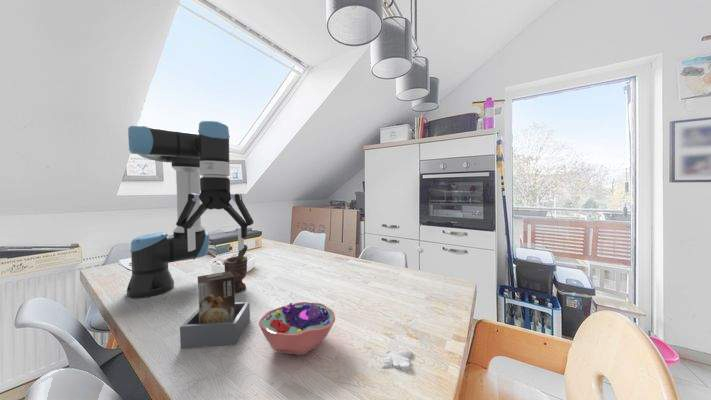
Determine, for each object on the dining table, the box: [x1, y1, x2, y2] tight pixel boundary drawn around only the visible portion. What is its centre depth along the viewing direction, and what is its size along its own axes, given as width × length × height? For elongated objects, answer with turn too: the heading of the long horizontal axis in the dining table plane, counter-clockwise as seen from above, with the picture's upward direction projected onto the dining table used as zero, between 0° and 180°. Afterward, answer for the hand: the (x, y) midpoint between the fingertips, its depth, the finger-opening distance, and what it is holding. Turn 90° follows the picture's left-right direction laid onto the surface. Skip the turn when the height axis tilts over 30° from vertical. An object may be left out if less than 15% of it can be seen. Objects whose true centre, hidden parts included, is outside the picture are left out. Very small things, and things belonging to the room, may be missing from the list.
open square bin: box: [179, 301, 251, 350], centre depth 74 cm, size 14×13×6 cm
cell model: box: [258, 301, 336, 356], centre depth 68 cm, size 17×20×11 cm
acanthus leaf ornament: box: [381, 349, 413, 371], centre depth 63 cm, size 8×7×2 cm
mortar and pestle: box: [223, 244, 248, 293], centre depth 104 cm, size 12×9×20 cm
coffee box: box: [197, 271, 236, 324], centre depth 73 cm, size 9×6×16 cm
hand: (216, 249), depth 73 cm, fingers open, 13 cm apart
